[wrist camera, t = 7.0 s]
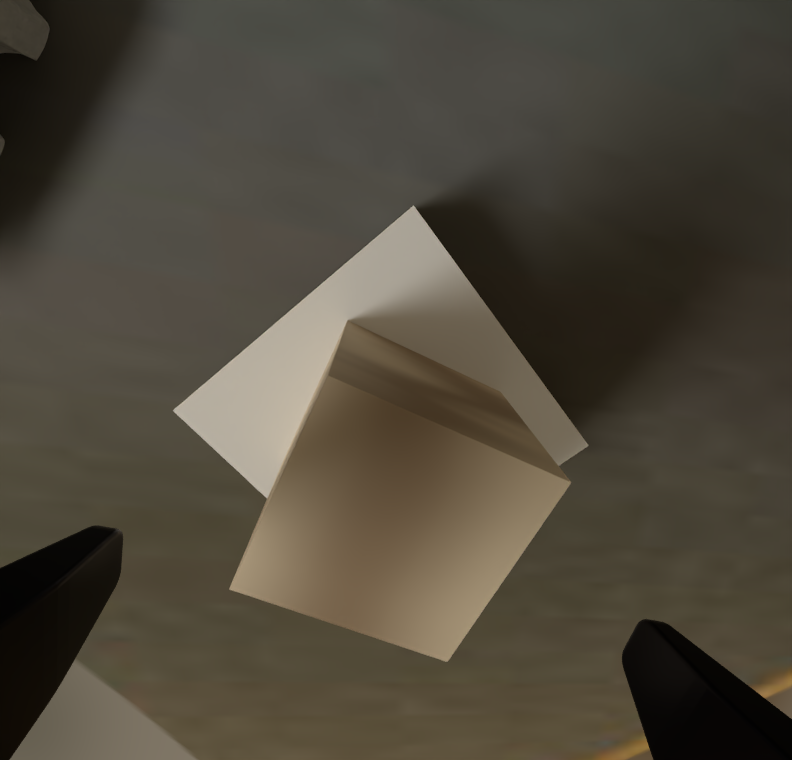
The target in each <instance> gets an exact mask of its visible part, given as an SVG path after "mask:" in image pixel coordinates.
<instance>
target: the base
mask: <svg viewBox="0 0 792 760" xmlns="http://www.w3.org/2000/svg"><path fill="white" fill-rule="evenodd" d="M347 320H348V321H350V322H352V323H354V324H357V325H359V326H361V327H363V328H365V329H367V330H369V331H372V332H374V333H376V334H378V335H380V336H382V337H384V338H387V339H389V340H391V341H393V342H395V343H397V344H399V345H401V346H404V347H406V348H408V349H410V350H412V351H414V352H416V353H419V354H421V355H423V356H425V357H427V358H429V359H431V360H434V361H436V362H438V363H440V364H442V365H444V366H446V367H448V368H451V369H453V370H455V371H457V372H459V373H461V374H463V375H466V376H468V377H470V378H472V379H474V380H476V381H478V382H481V383H483V384H485V385H487V386H489V387H491V388H493V389H496V390H498V391H500V392H501V393H502V394H503V396H504V397H505V398H506V399H507V401H508V402H509V403H510V405H511V406H512V407H513V408H514V410H515V411H516V412H517V413H518V415H519V416H520V417H521V419H522V420H523V421H524V422H525V424H526V425H527V426H528V428H529V429H530V430H531V431H532V433H533V434H534V435H535V437H536V438H537V439H538V440H539V442H540V443H541V444H542V446H543V447H544V448H545V449H546V451H547V452H548V453H549V455H550V456H551V457H552V458H553V460H554V461H555V462H556V463H557V465H558V466H559V465H561V464H562V463H564V462H565V461H567V460H568V459H570V458H571V457H572V456H574V455H575V454H577V453H578V452H580V451H581V450H583V449H584V448H586V447H587V446H589V445H588V444H587V443H586V441H585V440H584V439H583V437H582V436H581V434H580V433H579V432H578V430H577V429H576V428H575V426H574V425H573V424H572V422H571V421H570V419H569V418H568V417H567V415H566V414H565V413H564V411H563V410H562V408H561V407H560V406H559V404H558V403H557V402H556V400H555V399H554V397H553V396H552V395H551V393H550V392H549V391H548V389H547V388H546V386H545V385H544V384H543V382H542V381H541V380H540V378H539V377H538V375H537V374H536V373H535V371H534V370H533V369H532V367H531V366H530V364H529V363H528V362H527V360H526V359H525V358H524V356H523V355H522V353H521V352H520V351H519V349H518V348H517V347H516V345H515V344H514V343H513V341H512V340H511V338H510V337H509V336H508V334H507V333H506V332H505V330H504V329H503V327H502V326H501V325H500V323H499V322H498V321H497V319H496V318H495V316H494V315H493V314H492V312H491V311H490V310H489V308H488V307H487V305H486V304H485V303H484V301H483V300H482V299H481V297H480V296H479V294H478V293H477V292H476V290H475V289H474V288H473V286H472V285H471V283H470V282H469V281H468V279H467V278H466V277H465V275H464V274H463V273H462V271H461V270H460V268H459V267H458V266H457V264H456V263H455V262H454V260H453V259H452V257H451V256H450V255H449V253H448V252H447V251H446V249H445V248H444V246H443V245H442V244H441V242H440V241H439V240H438V238H437V237H436V235H435V234H434V233H433V231H432V230H431V229H430V227H429V226H428V224H427V223H426V222H425V220H424V219H423V218H422V216H421V215H420V213H419V212H418V211H417V209H416V208H415V207H414V206H412V207H411V208H410V209H409V210H407V211H406V212H405V213H404V214H403V215H402V216H400V217H399V218H398V219H397V220H396V221H395V222H393V223H392V224H391V225H390V226H389V227H387V228H386V229H385V230H384V231H383V232H382V233H380V234H379V235H378V236H377V237H376V238H375V239H373V240H372V241H371V242H370V243H369V244H368V245H366V246H365V247H364V248H363V249H362V250H360V251H359V252H358V253H357V254H356V255H355V256H353V257H352V258H351V259H350V260H349V261H348V262H346V263H345V264H344V265H343V266H342V267H341V268H339V269H338V270H337V271H336V272H335V273H333V274H332V275H331V276H330V277H329V278H328V279H326V280H325V281H324V282H323V283H322V284H321V285H319V286H318V287H317V288H316V289H315V290H314V291H312V292H311V293H310V294H309V295H308V296H306V297H305V298H304V299H303V300H302V301H301V302H299V303H298V304H297V305H296V306H295V307H294V308H292V309H291V310H290V311H289V312H288V313H287V314H285V315H284V316H283V317H282V318H281V319H279V320H278V321H277V322H276V323H275V324H274V325H272V326H271V327H270V328H269V329H268V330H267V331H265V332H264V333H263V334H262V335H261V336H260V337H258V338H257V339H256V340H255V341H254V342H253V343H251V344H250V345H249V346H248V347H247V348H245V349H244V350H243V351H242V352H241V353H240V354H238V355H237V356H236V357H235V358H234V359H233V360H231V361H230V362H229V363H228V364H227V365H226V366H224V367H223V368H222V369H221V370H220V371H218V372H217V373H216V374H215V375H214V376H213V377H211V378H210V379H209V380H208V381H207V382H206V383H204V384H203V385H202V386H201V387H200V388H199V389H197V390H196V391H195V392H194V393H193V394H192V395H190V396H189V397H188V398H187V399H186V400H185V401H183V402H182V403H181V404H180V405H179V406H178V407H176V408H175V409H174V410H173V411H174V412H175V413H176V414H177V415H178V416H179V417H180V418H181V419H182V420H183V421H185V422H186V423H187V424H188V425H189V426H190V427H191V428H192V429H193V430H194V431H195V432H196V433H197V434H198V435H200V436H201V437H202V438H203V439H204V440H205V441H206V442H207V443H208V444H209V445H210V446H211V447H212V448H213V449H215V450H216V451H217V452H218V453H219V454H220V455H221V456H222V457H223V458H224V459H225V460H226V461H227V462H228V463H230V464H231V465H232V466H233V467H234V468H235V469H236V470H237V471H238V472H239V473H240V474H241V475H242V476H244V477H245V478H246V479H247V480H248V481H249V482H250V483H251V484H252V485H253V486H254V487H255V488H256V489H257V490H259V491H260V492H261V493H262V494H263V495H264V496H265V497H266V498H268V496H269V493H270V491H271V488H272V486H273V484H274V481H275V479H276V476H277V474H278V472H279V469H280V467H281V465H282V462H283V460H284V458H285V456H286V454H287V451H288V449H289V447H290V445H291V443H292V440H293V438H294V436H295V434H296V432H297V430H298V427H299V425H300V423H301V421H302V419H303V416H304V414H305V412H306V410H307V408H308V405H309V403H310V401H311V399H312V397H313V395H314V392H315V390H316V388H317V386H318V384H319V381H320V379H321V377H322V375H323V373H324V370H325V368H326V366H327V364H328V362H329V360H330V357H331V355H332V353H333V351H334V349H335V346H336V344H337V342H338V340H339V338H340V335H341V333H342V331H343V329H344V327H345V325H346V322H347Z"/></svg>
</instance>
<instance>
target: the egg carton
mask: <svg viewBox="0 0 792 760" xmlns="http://www.w3.org/2000/svg"><path fill="white" fill-rule="evenodd" d="M49 30H50V28H49V25H48V23H47V22H46V20H45V19H44V18H43V17H42V16H41V15H40V14H39V13H38V12H37V11H36V10H35V8H34V6H33V5H32V3H31V2H30V0H0V54H1V53H18V54H22V55H25V56H27V57H29V58H31V59H33V60H35V61H37V59H38V58H39V56H40V55H41V53H42V51H43V49H44V47H45V45H46V42H47V39H48V34H49ZM4 144H5V140H4V138H3V137H2V136H1V135H0V155H1V153H2V150H3V148H4Z"/></svg>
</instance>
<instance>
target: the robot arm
mask: <svg viewBox="0 0 792 760" xmlns="http://www.w3.org/2000/svg"><path fill="white" fill-rule="evenodd" d="M122 548H123V534H122V532H121V531H120V530H119V529H115V528H110V527H104V526H91V527H88V528H86V529H84V530H82V531H80V532H77V533H75V534H73V535H71V536H69V537H67V538H64V539H62V540H60V541H58V542H56V543H54V544H51V545H49V546H47V547H45V548H43V549H41V550H38V551H36V552H34V553H32V554H30V555H27V556H25V557H23V558H21V559H19V560H17V561H14V562H12V563H10V564H8V565H6V566H4V567H1V568H0V760H9V759H10V758H11V757H12V755H13V754H14V752H15V751H16V750H17V748H18V747H19V745H20V744H21V742H22V741H23V739H24V738H25V737H26V735H27V734H28V732H29V731H30V729H31V728H32V726H33V725H34V723H35V722H36V721H37V719H38V718H39V716H40V715H41V713H42V712H43V710H44V709H45V707H46V706H47V704H48V703H49V701H50V700H51V698H52V697H53V695H54V694H55V692H56V691H57V689H58V687H59V686H60V684H61V682H62V681H63V679H64V677H65V675H66V674H67V672H68V670H69V669H70V667H71V665H72V663H73V661H74V660H75V658H76V656H77V654H78V653H79V651H80V649H81V647H82V645H83V644H84V642H85V640H86V638H87V637H88V635H89V633H90V631H91V630H92V628H93V626H94V624H95V622H96V621H97V619H98V617H99V615H100V614H101V612H102V610H103V608H104V606H105V605H106V603H107V601H108V599H109V598H110V596H111V594H112V592H113V591H114V589H115V587H116V585H117V582H118V580H119V577H120V573H121V563H122ZM622 664H623V668H624V671H625V675H626V678H627V681H628V684H629V687H630V690H631V693H632V696H633V699H634V702H635V705H636V708H637V711H638V714H639V717H640V721H641V724H642V727H643V730H644V733H645V736H646V739H647V742H648V745H649V748H650V751H651V754H652V757H653V760H792V719H791V718H789V717H788V716H787V715H786V714H784V713H783V712H782V711H780V710H779V709H778V708H776V707H775V706H774V705H773V704H771V703H770V702H769V701H767V700H766V699H765V698H763V697H762V696H761V695H760V694H758V693H757V692H756V691H754V690H753V689H752V688H750V687H749V686H748V685H747V684H745V683H744V682H743V681H741V680H740V679H739V678H737V677H736V676H735V675H734V674H732V673H731V672H730V671H728V670H727V669H726V668H724V667H723V666H722V665H721V664H719V663H718V662H717V661H715V660H714V659H713V658H711V657H710V656H709V655H708V654H706V653H705V652H704V651H702V650H701V649H700V648H698V647H697V646H696V645H695V644H693V643H692V642H691V641H689V640H688V639H687V638H685V637H684V636H683V635H682V634H680V633H679V632H678V631H676V630H675V629H674V628H672V627H671V626H670V625H668V624H666V623H664V622H660V621H654V620H648V619H644V620H641V621H640V622H639V623H638V624H637V626H636V628H635V629H634V631H633V633H632V635H631V637H630V639H629V641H628V642H627V644H626V646H625V648H624V650H623V654H622Z"/></svg>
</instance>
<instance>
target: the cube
mask: <svg viewBox="0 0 792 760" xmlns="http://www.w3.org/2000/svg"><path fill="white" fill-rule="evenodd" d="M570 484H571V481H570V480H569V479H568V478H567V476H566V475H565V474H564V472H563V471H562V470H561V469H560V467H559V466H558V465H557V463H556V462H555V461H554V460H553V458H552V457H551V456H550V455H549V453H548V452H547V451H546V449H545V448H544V447H543V446H542V444H541V443H540V442H539V440H538V439H537V438H536V437H535V435H534V434H533V433H532V431H531V430H530V429H529V428H528V426H527V425H526V424H525V422H524V421H523V420H522V419H521V417H520V416H519V415H518V413H517V412H516V411H515V410H514V408H513V407H512V406H511V405H510V403H509V402H508V401H507V399H506V398H505V397H504V396H503V394H502V393H501V392H500V391H498V390H496V389H493V388H491V387H489V386H487V385H485V384H483V383H481V382H478V381H476V380H474V379H472V378H470V377H468V376H466V375H463V374H461V373H459V372H457V371H455V370H453V369H451V368H448V367H446V366H444V365H442V364H440V363H438V362H436V361H434V360H431V359H429V358H427V357H425V356H423V355H421V354H419V353H416V352H414V351H412V350H410V349H408V348H406V347H404V346H401V345H399V344H397V343H395V342H393V341H391V340H389V339H387V338H384V337H382V336H380V335H378V334H376V333H374V332H372V331H369V330H367V329H365V328H363V327H361V326H359V325H357V324H354V323H352V322H350V321H348V320H347V322H346V325H345V327H344V329H343V331H342V333H341V335H340V338H339V340H338V342H337V344H336V346H335V349H334V351H333V353H332V355H331V357H330V360H329V362H328V364H327V366H326V368H325V370H324V373H323V375H322V377H321V379H320V381H319V384H318V386H317V388H316V390H315V392H314V395H313V397H312V399H311V401H310V403H309V405H308V408H307V410H306V412H305V414H304V416H303V419H302V421H301V423H300V425H299V427H298V430H297V432H296V434H295V436H294V438H293V440H292V443H291V445H290V447H289V449H288V451H287V454H286V456H285V458H284V460H283V462H282V465H281V467H280V469H279V472H278V474H277V476H276V479H275V481H274V484H273V486H272V488H271V491H270V493H269V496H268V498H267V500H266V503H265V505H264V508H263V510H262V512H261V515H260V517H259V519H258V522H257V524H256V527H255V529H254V531H253V534H252V536H251V539H250V541H249V543H248V546H247V548H246V550H245V553H244V555H243V558H242V560H241V562H240V565H239V567H238V570H237V572H236V574H235V577H234V579H233V582H232V584H231V586H230V590H233V591H236V592H239V593H242V594H245V595H248V596H251V597H254V598H257V599H260V600H263V601H266V602H269V603H272V604H275V605H278V606H281V607H284V608H287V609H290V610H293V611H296V612H299V613H302V614H305V615H308V616H311V617H314V618H317V619H320V620H323V621H326V622H329V623H332V624H335V625H338V626H341V627H344V628H347V629H350V630H353V631H356V632H359V633H362V634H365V635H368V636H371V637H374V638H377V639H380V640H383V641H386V642H389V643H392V644H395V645H398V646H401V647H404V648H407V649H410V650H413V651H416V652H419V653H422V654H425V655H428V656H431V657H434V658H437V659H440V660H443V661H446V662H448V660H449V659H450V657H451V656H452V655H453V653H454V652H455V650H456V649H457V647H458V646H459V644H460V643H461V641H462V640H463V639H464V637H465V636H466V634H467V633H468V631H469V630H470V628H471V627H472V626H473V624H474V623H475V621H476V620H477V618H478V617H479V615H480V614H481V613H482V611H483V610H484V608H485V607H486V605H487V604H488V602H489V601H490V599H491V598H492V597H493V595H494V594H495V592H496V591H497V589H498V588H499V586H500V585H501V584H502V582H503V581H504V579H505V578H506V576H507V575H508V573H509V572H510V571H511V569H512V568H513V566H514V565H515V563H516V562H517V560H518V559H519V558H520V556H521V555H522V553H523V552H524V550H525V549H526V547H527V546H528V544H529V543H530V542H531V540H532V539H533V537H534V536H535V534H536V533H537V531H538V530H539V529H540V527H541V526H542V524H543V523H544V521H545V520H546V518H547V517H548V516H549V514H550V513H551V511H552V510H553V508H554V507H555V505H556V504H557V502H558V501H559V500H560V498H561V497H562V495H563V494H564V492H565V491H566V489H567V488H568V487H569V485H570Z"/></svg>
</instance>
